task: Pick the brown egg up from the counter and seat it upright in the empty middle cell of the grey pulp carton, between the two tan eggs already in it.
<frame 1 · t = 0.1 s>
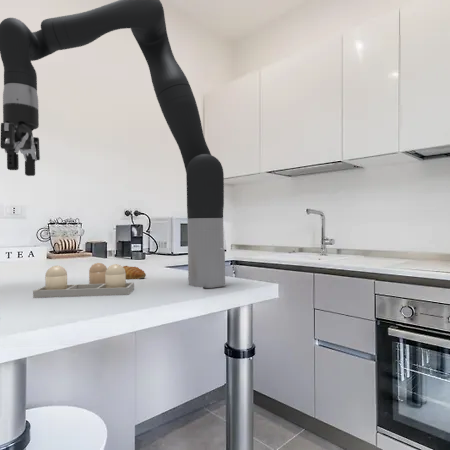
hand: (22, 172, 84), 29 cm above the table, tool pointing down, fingers open, 8 cm apart
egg: (98, 287, 88), on the table
carton: (86, 295, 78), on the table
pastry: (131, 279, 104), on the table
egg 2: (115, 292, 79), resting on carton
egg 1: (56, 294, 77), resting on carton
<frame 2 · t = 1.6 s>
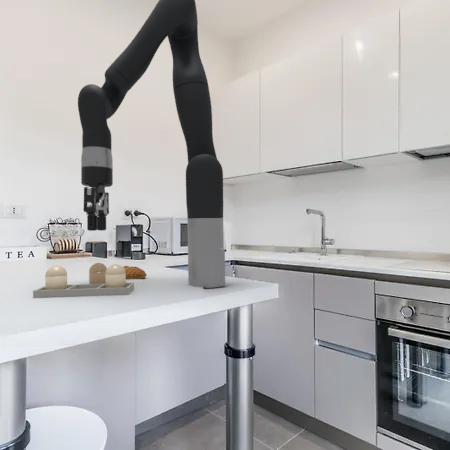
hand: (97, 230, 88), 15 cm above the table, tool pointing down, fingers open, 8 cm apart
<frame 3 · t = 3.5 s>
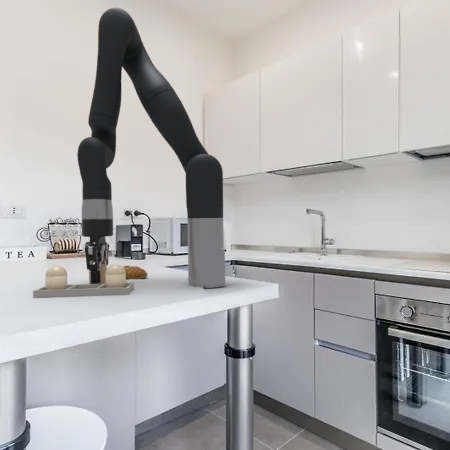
hand: (98, 284, 88), 1 cm above the table, tool pointing down, fingers closed on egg, 4 cm apart
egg: (98, 287, 88), on the table, touching gripper
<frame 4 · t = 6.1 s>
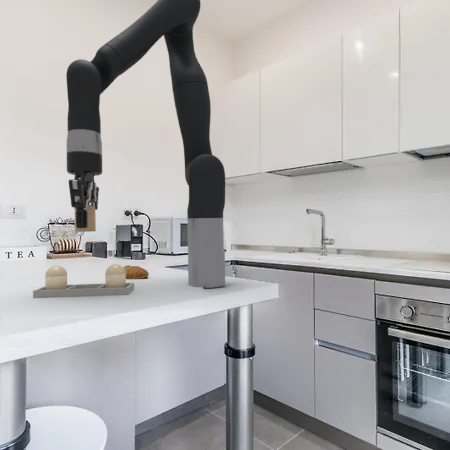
hand: (85, 227, 78), 15 cm above the table, tool pointing down, fingers closed on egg, 4 cm apart
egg: (85, 231, 78), point 14 cm above the table, touching gripper
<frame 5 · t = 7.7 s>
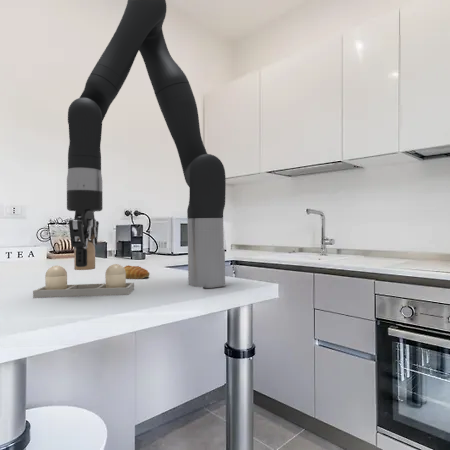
hand: (85, 265, 78), 7 cm above the table, tool pointing down, fingers closed on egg, 4 cm apart
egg: (84, 268, 78), point 6 cm above the table, touching gripper
when the fingers open (3 cm above the table, at t = 8.9 s): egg drops 1 cm, resting on carton.
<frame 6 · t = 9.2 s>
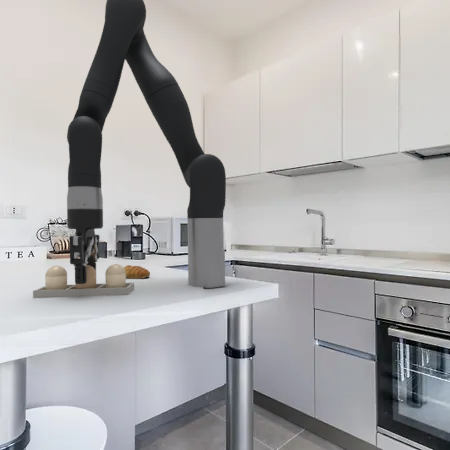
hand: (86, 280, 78), 3 cm above the table, tool pointing down, fingers open, 7 cm apart
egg: (86, 293, 78), point 1 cm above the table, touching carton
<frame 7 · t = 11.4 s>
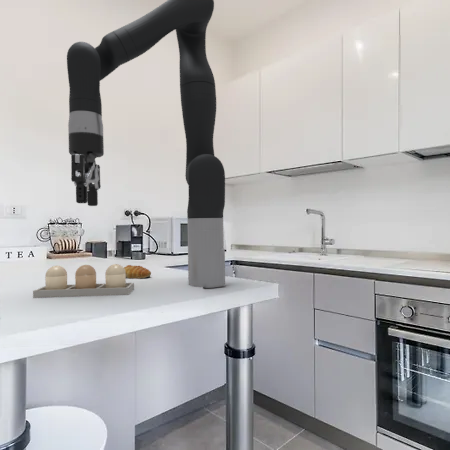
hand: (87, 204, 80), 21 cm above the table, tool pointing down, fingers open, 8 cm apart
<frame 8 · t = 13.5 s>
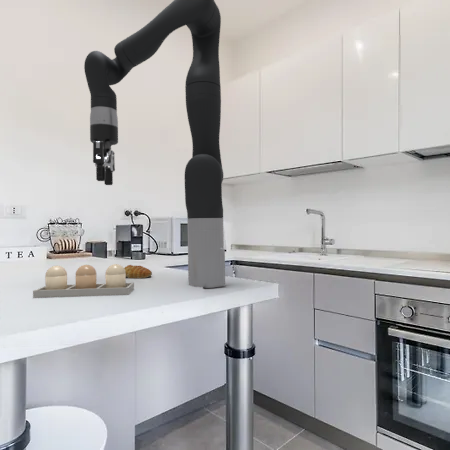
hand: (104, 183, 98), 28 cm above the table, tool pointing down, fingers open, 8 cm apart
at the end: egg 0.1 cm off-centre on the carton, point 0.5 cm above the carton's base; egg tilted 1°; the gripper is holding nothing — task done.
